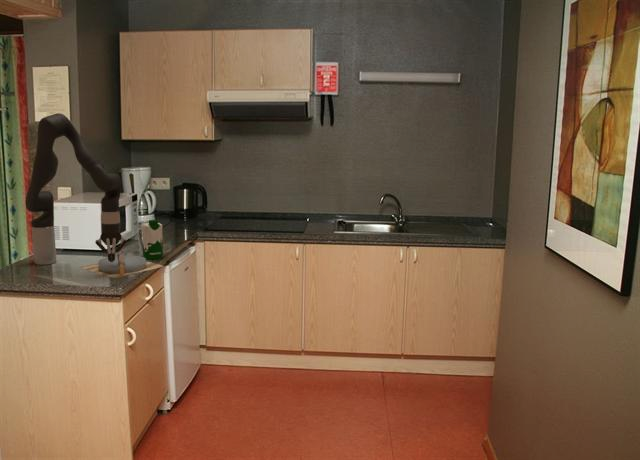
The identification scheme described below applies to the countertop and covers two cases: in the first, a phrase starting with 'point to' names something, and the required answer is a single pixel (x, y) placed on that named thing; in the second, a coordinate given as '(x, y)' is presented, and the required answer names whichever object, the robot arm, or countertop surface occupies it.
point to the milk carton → (152, 240)
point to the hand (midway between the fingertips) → (111, 261)
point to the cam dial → (122, 263)
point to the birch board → (114, 275)
